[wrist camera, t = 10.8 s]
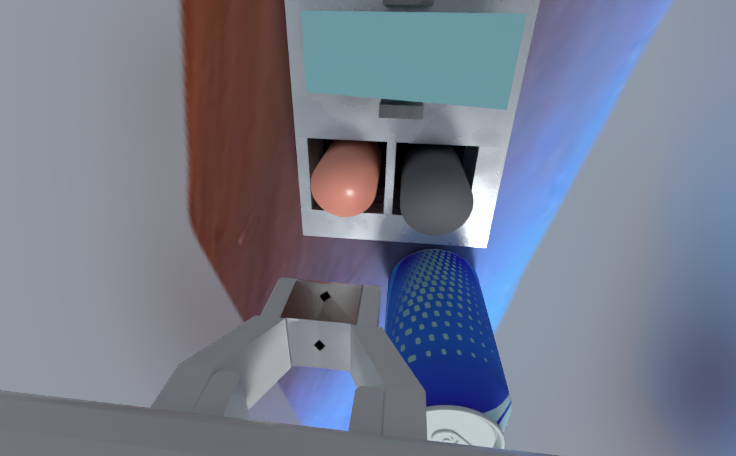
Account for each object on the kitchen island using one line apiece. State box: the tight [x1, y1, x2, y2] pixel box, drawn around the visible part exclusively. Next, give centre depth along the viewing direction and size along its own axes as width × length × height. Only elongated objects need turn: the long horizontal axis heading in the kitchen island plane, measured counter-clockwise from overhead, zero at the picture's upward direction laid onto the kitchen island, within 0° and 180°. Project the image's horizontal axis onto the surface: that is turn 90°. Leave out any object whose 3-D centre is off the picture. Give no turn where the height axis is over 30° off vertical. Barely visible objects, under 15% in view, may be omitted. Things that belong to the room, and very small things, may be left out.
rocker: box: [301, 11, 527, 110], centre depth 19 cm, size 4×11×2 cm, turn 89°
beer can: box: [385, 249, 512, 449], centre depth 28 cm, size 8×8×16 cm
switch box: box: [285, 0, 540, 248], centre depth 23 cm, size 22×14×8 cm, turn 179°
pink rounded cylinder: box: [311, 139, 382, 217], centre depth 26 cm, size 4×4×6 cm
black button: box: [400, 144, 474, 236], centre depth 24 cm, size 4×4×6 cm
